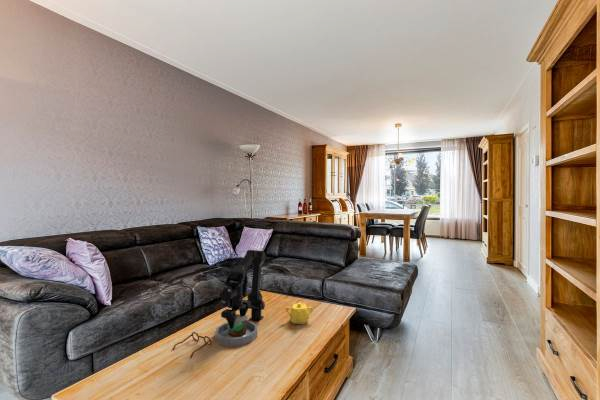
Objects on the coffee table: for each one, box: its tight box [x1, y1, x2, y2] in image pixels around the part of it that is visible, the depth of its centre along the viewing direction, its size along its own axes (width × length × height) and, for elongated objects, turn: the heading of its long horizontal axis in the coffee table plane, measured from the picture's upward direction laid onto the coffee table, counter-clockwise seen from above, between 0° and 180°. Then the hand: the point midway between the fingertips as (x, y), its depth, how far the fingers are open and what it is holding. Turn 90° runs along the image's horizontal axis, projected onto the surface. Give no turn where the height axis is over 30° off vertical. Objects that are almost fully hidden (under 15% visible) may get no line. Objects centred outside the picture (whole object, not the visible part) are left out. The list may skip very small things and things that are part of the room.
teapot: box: [285, 301, 314, 325], centre depth 168 cm, size 14×13×10 cm
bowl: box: [214, 320, 258, 347], centre depth 151 cm, size 21×21×4 cm
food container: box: [225, 313, 249, 337], centre depth 150 cm, size 12×6×10 cm, turn 68°
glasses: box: [171, 331, 212, 359], centre depth 139 cm, size 13×13×5 cm
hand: (236, 325), depth 151 cm, fingers open, 9 cm apart
